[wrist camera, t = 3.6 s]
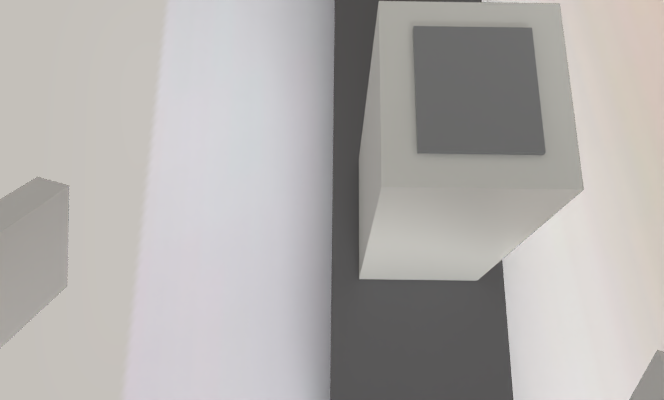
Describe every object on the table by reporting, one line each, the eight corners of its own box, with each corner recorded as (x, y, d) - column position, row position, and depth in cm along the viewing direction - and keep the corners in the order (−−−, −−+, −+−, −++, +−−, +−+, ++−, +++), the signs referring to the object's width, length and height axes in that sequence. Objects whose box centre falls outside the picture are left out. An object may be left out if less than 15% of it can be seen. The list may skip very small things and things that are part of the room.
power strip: (335, -53, 31) (336, -101, 28) (462, -51, 31) (477, -99, 28) (326, 745, 20) (325, 803, 17) (519, 748, 20) (551, 805, 17)
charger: (356, 177, 26) (379, -3, 15) (459, 178, 26) (561, -1, 15) (356, 288, 25) (382, 184, 13) (465, 290, 25) (586, 187, 13)
